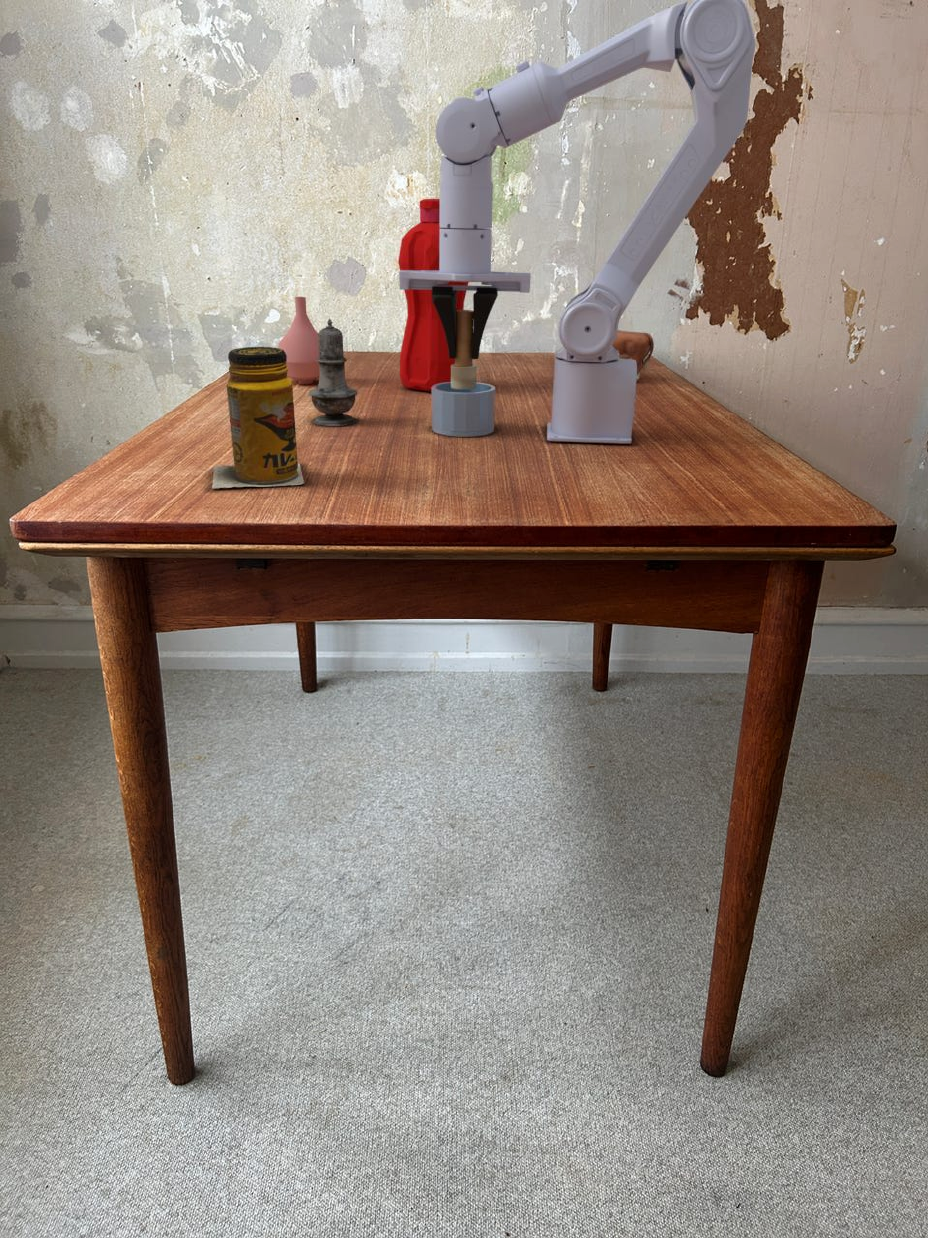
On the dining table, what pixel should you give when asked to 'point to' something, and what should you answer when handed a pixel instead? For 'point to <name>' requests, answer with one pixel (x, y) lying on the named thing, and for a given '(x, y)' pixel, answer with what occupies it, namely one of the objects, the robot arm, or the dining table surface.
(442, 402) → the beaker
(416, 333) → the water bottle
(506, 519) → the dining table surface
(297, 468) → the condiment
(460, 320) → the brush
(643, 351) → the bull figurine
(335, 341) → the salt shaker
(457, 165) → the robot arm
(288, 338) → the pink vase
